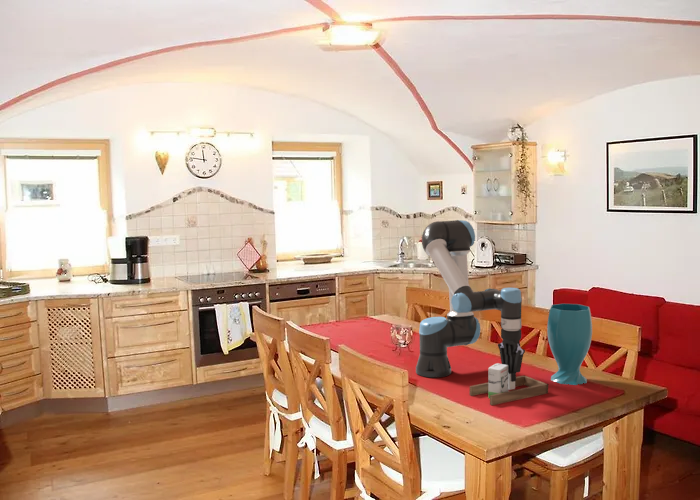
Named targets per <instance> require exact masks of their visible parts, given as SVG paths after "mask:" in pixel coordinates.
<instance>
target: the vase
mask: <svg viewBox="0 0 700 500" xmlns="http://www.w3.org/2000/svg"><path fill="white" fill-rule="evenodd" d="M547 317H548V319H547V328H546V329H547V333H546V334H547V340H548V344H549V348H550V351H551V353H552V355H553V358H554V360H555V362H556V364H557V368H558V371H556V372H555V373H554V374H552V375H551V376H550V381H552V382H555V383H558V384H560V385H568V384H569V385H570V386H571V385H573V386H578V384H579V385H583V383H584V384H587V382H588V379H587V378H586V377H585V376H584V375H583V374H582V372H581V366H582V363H583V362H584V360H585V358H586V356H587V355H588V352H589V350H590V347H591V343H592V338H593V337H592V336H593V322H592V321H593V320H592V313H591V308H590V306H587V305H583V304H578V303H558V304H551V306H550V309H549V313H548V316H547Z"/></svg>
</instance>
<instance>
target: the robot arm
mask: <svg viewBox="0 0 700 500" xmlns="http://www.w3.org/2000/svg"><path fill="white" fill-rule="evenodd" d="M475 241H476V233H475V229H474V227H473V226H472V224H471V223H470V222H469V221H467V220H459V219H456V220H441V221H439V220H438V221H434V222H431V223H429V224H428V225H427V226H426V227H425V228H424V230H423V232H422V235H421V245H422V248H423V251H424V253H425V254H426V255H427V256H429V257H430V258H431V260H432V261H433V263H434V265H435V266H436V268H437V270H438V272H439V273H440V276H441V277H442V279H443V281H444V283H445V284H446V285H447V287H448V293H449V294H448V296H449V297H448V300H449V311H448V312H447V314H446V317H444V316H431V317H427V318H424V319H422V320H421V321H420V323H419V331H418V333H419V335H418V336H419V355H418V359H417V362H416V365H415V373H416V375H418V376H421V377H424V378H425V377H426V378H443V377H447V376H450V375H451V374H452V366H451V362H450V360H449V357H448V348H452V347H461V346H468V345H471V344H475V343H476V342H477V341H478V340H479V338H480V335H481V323H480V322H479V319H478V318H477V317H475V312H479V311H480V312H481V311H489V310H498V311H500V325H501V326H500V328H501V330H500V338H501V339H502V340H501V342H500V343H497V348H498V349H499V357H500V362H501V363H500V364H505V365H508V391H513V390H516V387H515V381H516V377H517V374H518V373H521V369H522V364H523V358H524V354H525V352H526V350H525V349H522V347H521V343H520V341H521V339H522V299H523V298H522V290H521V289H520V288H517V287H503V288H501V289H500V290H499V289H496V288H491V287H490V288H486V289H484V290H479V291H478V290H477V291H474V290H473V289H472V288H471V286H470V284H469V282H470V281H469V270H468V268H469V267H468V254H469V253H470V252H471V247H472V246H474V244H475Z"/></svg>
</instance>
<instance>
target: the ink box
mask: <svg viewBox="0 0 700 500" xmlns="http://www.w3.org/2000/svg"><path fill="white" fill-rule="evenodd" d="M487 369H488V377H487V378H488V380H487V381H488V382H487V383H488V393H487V394H488V395H487V396H488V397H487V398H488V399H490V395H494V394H498V393H503V392H508V391H509V389H508V365H505V364H502V363H499V362H497V363H494V364H493V365H490V366H489V367H488V368H487Z"/></svg>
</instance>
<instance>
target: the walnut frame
mask: <svg viewBox="0 0 700 500" xmlns="http://www.w3.org/2000/svg"><path fill="white" fill-rule="evenodd" d="M521 386H525V387H522V388H519V389H512V390H508V392H503V393H498V394H494V395H490V398H489V405H490V406H497V405H500V404H505V403H509V402H514V401H519V400H523V399H527V398H533V397H536V396H542V395H546V394H549V384H548V383H547V382H546V383H545V382H543V381H540V380H538V379H535V378H533V377H530V376H527V375H519V376H516V381H515V388H516V387H521ZM483 394H488V382H484V383H479V384H473V385H469V396H471V397H473V396H477V395H483Z"/></svg>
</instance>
